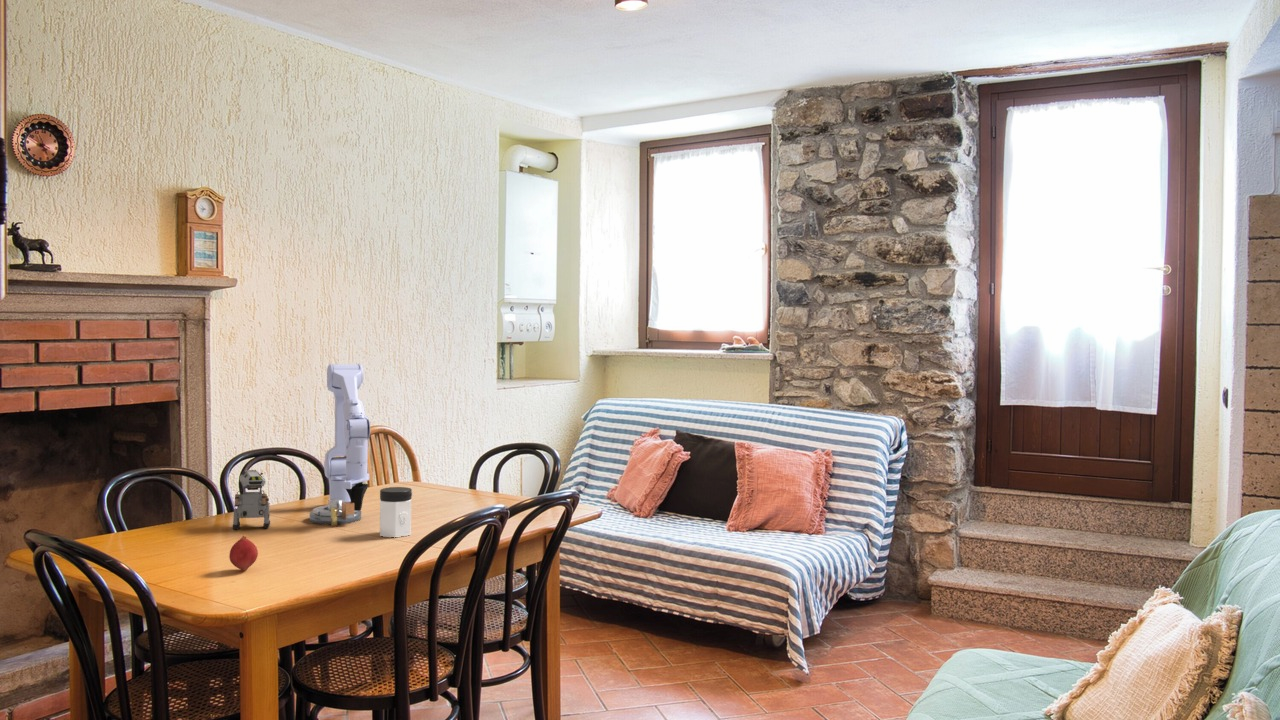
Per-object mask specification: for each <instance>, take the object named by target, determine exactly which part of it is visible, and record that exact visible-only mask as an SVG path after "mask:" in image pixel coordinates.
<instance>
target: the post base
mask: <svg viewBox="0 0 1280 720" xmlns="http://www.w3.org/2000/svg"><path fill="white" fill-rule="evenodd" d="M327 501H328V503H327V505H328V510H330V511H331V508H337V510H342V502H343V500H342V499H331V500H330V499H328V500H327ZM360 519H361V520H362V509H361V510H360V511H358V512H355V513H354V518H344V517H342V516H337V525H346V523H347V524H352V523H351V522H353V523H356V522H355V521H357V522H359V521H361V520H360ZM358 520H359V521H358ZM308 521H309V522H310V523H311V522H312V523H311V524H314V523H317V524H316V525H322V524H331V516H320V515H316V514H314V513H313V510H311V512H309V520H308Z"/></svg>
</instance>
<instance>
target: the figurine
mask: <svg viewBox="0 0 1280 720" xmlns="http://www.w3.org/2000/svg"><path fill="white" fill-rule="evenodd" d="M263 474H264V473H263V472H258V470H256V469H246V470H244V471H242V472H241V475H239V476H238V479H239V482H240V483H241V485H242V489H243V491H241V490H237V492H236V494H235V495H234V507H236V508H234V510H233V517H232V518H233V522H232V523H233V524H232V530H234V531H237V530H238V529H239V528H240V526H241V521H240V519H254V518H255V519H256V518H257V519H258V518H263V527H262V528H263V529H269V527H270V525H271V520H270V508H271V507H270V504H271V503H270V501H269V500H270V498H269V496H268V495H267V493H265V491H264V490H263V487H264V486H265V485H266V482H267V481H266V479H265V478H264V477H263ZM246 489H247V491H246ZM258 490H259V491H258ZM239 492H240V493H239Z"/></svg>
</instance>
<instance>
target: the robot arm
mask: <svg viewBox="0 0 1280 720" xmlns="http://www.w3.org/2000/svg"><path fill="white" fill-rule="evenodd" d="M363 381H364V366H363V365H362V363H356V364H353V363H352V364H351V363H349V364H348V363H347V364H346V363H345V364H343V363H341V364H339V363H338V364H333V363H329V364H328V365H327V368H326V387H327V391H330V392H332V393H333V397H334V446H333V447H331V448H330V449H328V450H327V451H326V452H325V455H324V457H325V458H324V469H323V470H324V476H325V477H326V478H327V479H329V500H331V499H342V500H343V502H353V503H354V511H360V510H361V511H362V507H363V500H364V497H365V494H366V492H367V490H368V488H369V484H368V483H364V482H367V481H370V473H369V472H368V466H369V465H368V463H369V462H368V457H369V456H368V455H369V454H368V452H369V451H368V450H369V449H368V448H369V446H368V443H369V439H370V436H371V422H370V419H369V418H368V416H366V413H365V407H364V402H363V401H362V400H360V399H359V391H358V390H359V389H360V387H361V386H362V384H363Z"/></svg>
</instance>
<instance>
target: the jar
mask: <svg viewBox="0 0 1280 720" xmlns="http://www.w3.org/2000/svg"><path fill="white" fill-rule="evenodd" d="M412 497H413V490H412V488H410V487H406V486H392V487H391V486H390V487H385V488H381V489H380V491H379V500H380V501H379V503H380V504H379V509H380V510H379V513H380V514H379V537H381V536H383V537H382V538H391V537H394V538H393V539H396V538H395V537H398V538H402V537H401V536H404V537H409V536H408V535H410V536H411V535H412V500H413V499H412Z"/></svg>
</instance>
